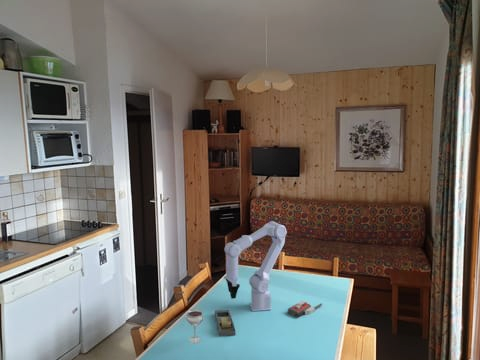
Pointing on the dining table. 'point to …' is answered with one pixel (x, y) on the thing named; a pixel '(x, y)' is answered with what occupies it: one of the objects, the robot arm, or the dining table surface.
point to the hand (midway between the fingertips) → (232, 294)
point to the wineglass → (194, 322)
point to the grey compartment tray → (218, 320)
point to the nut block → (225, 323)
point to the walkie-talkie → (302, 309)
